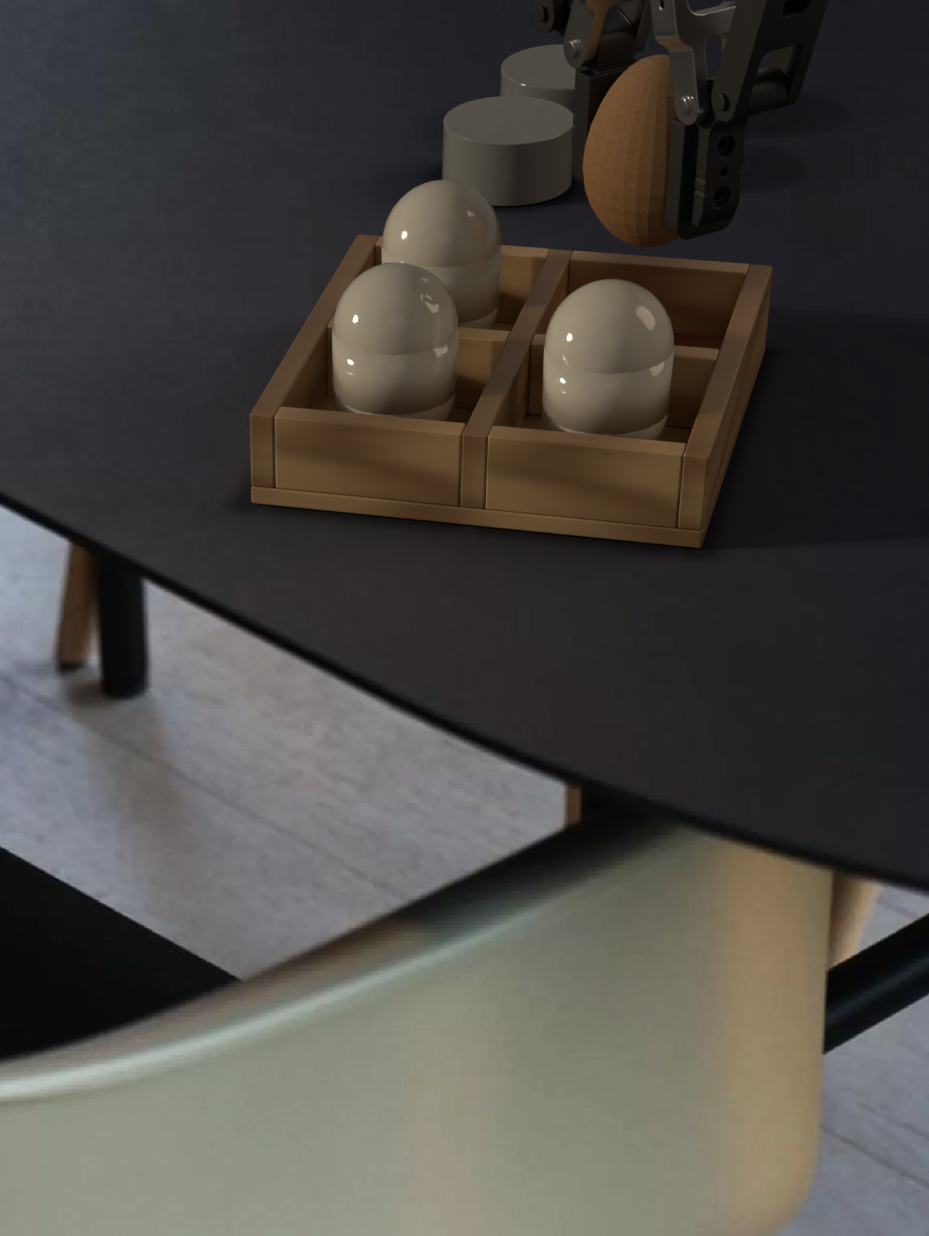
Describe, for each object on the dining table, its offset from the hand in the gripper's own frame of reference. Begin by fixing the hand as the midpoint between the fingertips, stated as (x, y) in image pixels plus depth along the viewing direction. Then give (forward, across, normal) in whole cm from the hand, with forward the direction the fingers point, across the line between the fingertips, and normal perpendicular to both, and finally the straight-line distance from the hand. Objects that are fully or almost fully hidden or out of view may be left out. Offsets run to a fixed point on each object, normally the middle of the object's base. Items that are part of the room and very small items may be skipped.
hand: (650, 202), depth 94 cm
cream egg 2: (+6, 0, +10) cm, 11 cm away
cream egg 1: (+6, +5, +5) cm, 9 cm away
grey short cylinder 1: (+7, +21, -11) cm, 25 cm away
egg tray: (+7, 0, +5) cm, 8 cm away
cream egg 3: (+6, -5, +5) cm, 9 cm away
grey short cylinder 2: (+7, +18, -6) cm, 20 cm away
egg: (+2, 0, 0) cm, 2 cm away
